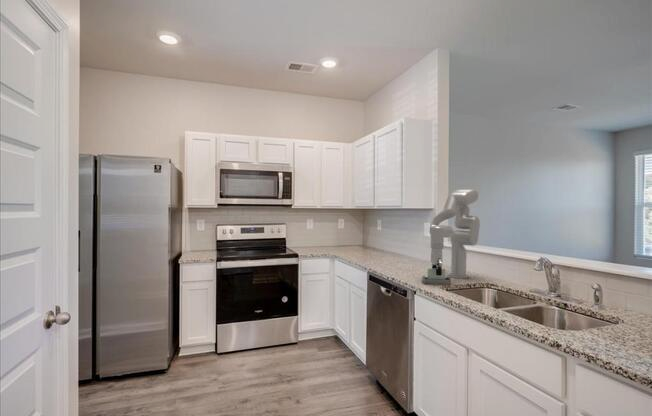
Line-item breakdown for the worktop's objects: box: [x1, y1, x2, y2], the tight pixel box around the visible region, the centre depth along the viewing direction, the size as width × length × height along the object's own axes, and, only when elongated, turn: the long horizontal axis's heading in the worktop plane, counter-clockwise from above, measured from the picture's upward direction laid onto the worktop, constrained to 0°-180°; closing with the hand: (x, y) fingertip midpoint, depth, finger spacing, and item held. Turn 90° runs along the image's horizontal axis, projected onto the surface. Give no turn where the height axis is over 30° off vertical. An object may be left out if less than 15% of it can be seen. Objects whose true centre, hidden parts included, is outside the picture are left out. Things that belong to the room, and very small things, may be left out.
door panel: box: [427, 267, 446, 280], centre depth 203 cm, size 3×10×8 cm, turn 86°
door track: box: [421, 275, 452, 286], centre depth 203 cm, size 7×16×4 cm, turn 86°
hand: (436, 273), depth 203 cm, fingers open, 9 cm apart
